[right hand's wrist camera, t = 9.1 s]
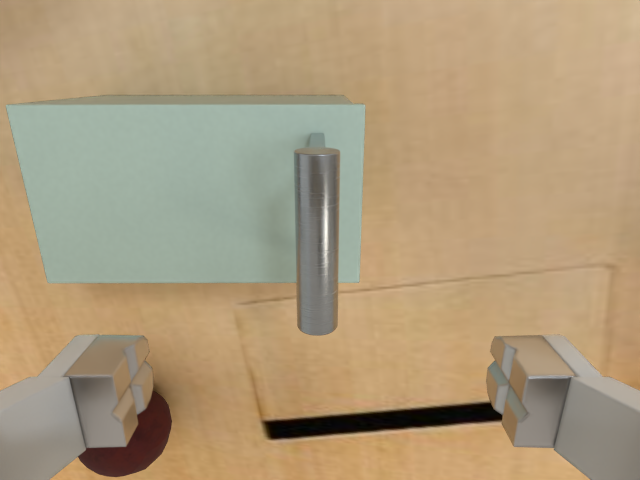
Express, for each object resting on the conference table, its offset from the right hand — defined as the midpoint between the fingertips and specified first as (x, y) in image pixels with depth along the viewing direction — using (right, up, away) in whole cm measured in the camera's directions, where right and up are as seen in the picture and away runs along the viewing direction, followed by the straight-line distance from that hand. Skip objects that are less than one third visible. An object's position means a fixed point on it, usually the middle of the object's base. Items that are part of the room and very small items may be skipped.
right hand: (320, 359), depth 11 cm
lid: (-7, +5, +14) cm, 16 cm away
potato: (-17, -12, +31) cm, 38 cm away
